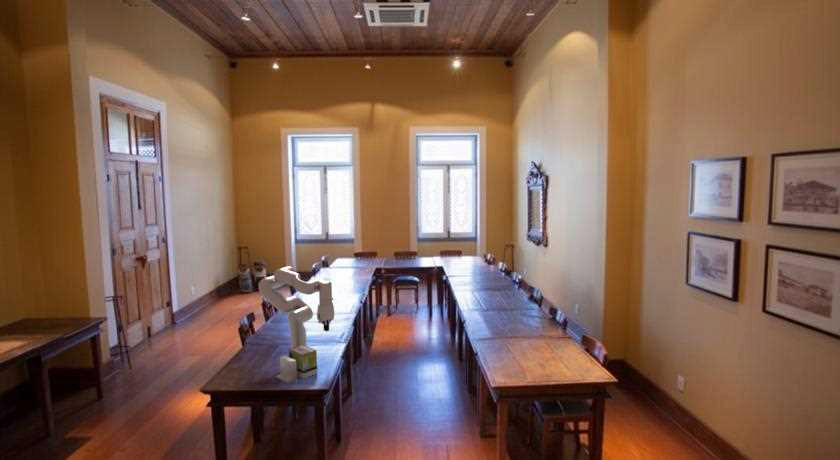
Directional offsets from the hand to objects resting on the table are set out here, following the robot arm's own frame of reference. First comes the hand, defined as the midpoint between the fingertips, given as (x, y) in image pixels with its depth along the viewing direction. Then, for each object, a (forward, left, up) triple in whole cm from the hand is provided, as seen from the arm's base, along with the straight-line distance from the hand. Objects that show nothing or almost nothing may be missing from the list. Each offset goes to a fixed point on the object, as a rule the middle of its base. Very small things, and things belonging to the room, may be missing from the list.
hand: (326, 330), depth 282 cm
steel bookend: (+1, -29, -21) cm, 36 cm away
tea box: (+1, -18, -21) cm, 28 cm away
